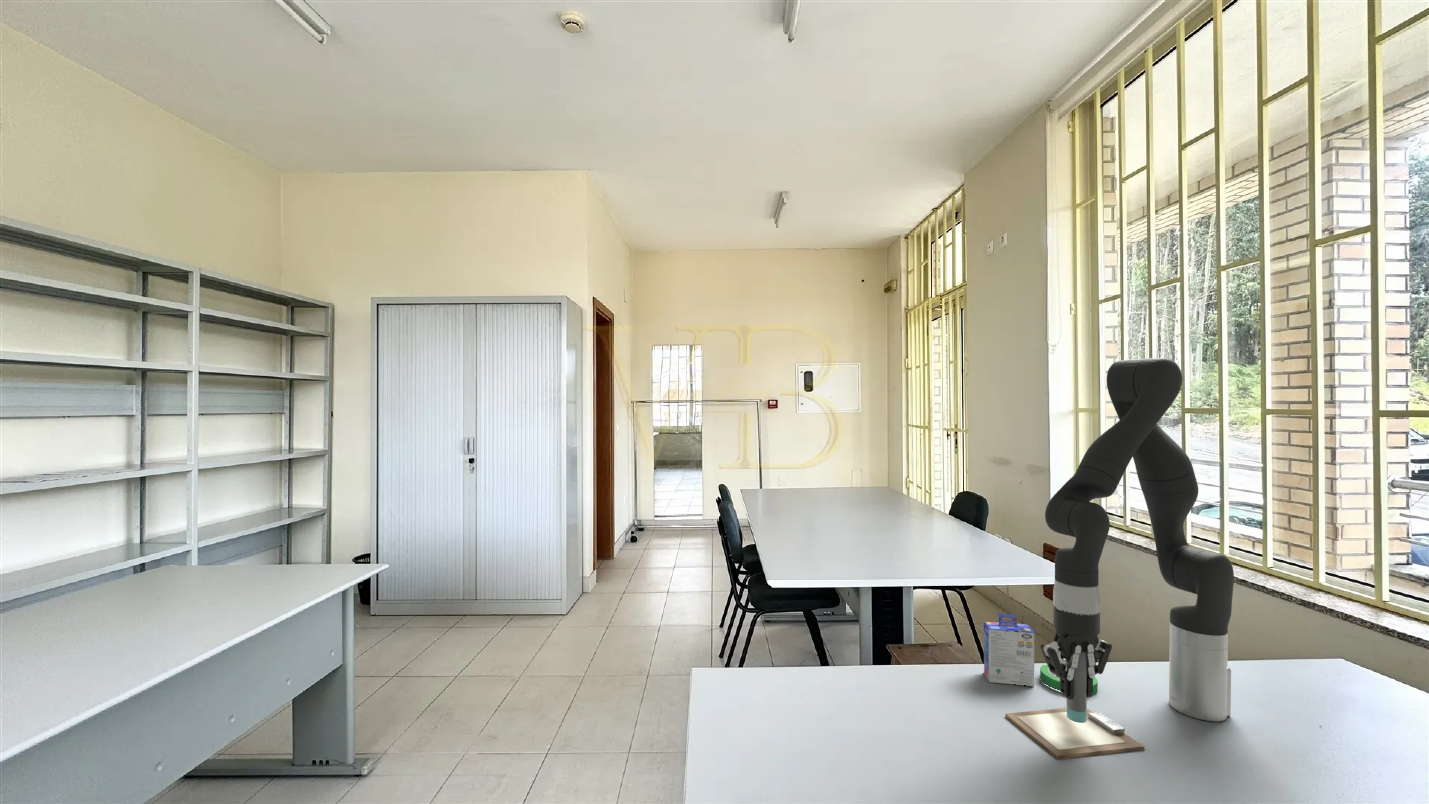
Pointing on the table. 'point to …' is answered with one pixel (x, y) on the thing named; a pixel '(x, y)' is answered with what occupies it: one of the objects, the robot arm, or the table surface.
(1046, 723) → the clipboard
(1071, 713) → the marker
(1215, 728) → the table surface
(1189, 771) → the table surface
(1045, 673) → the tape roll
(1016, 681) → the ink cartridge box
